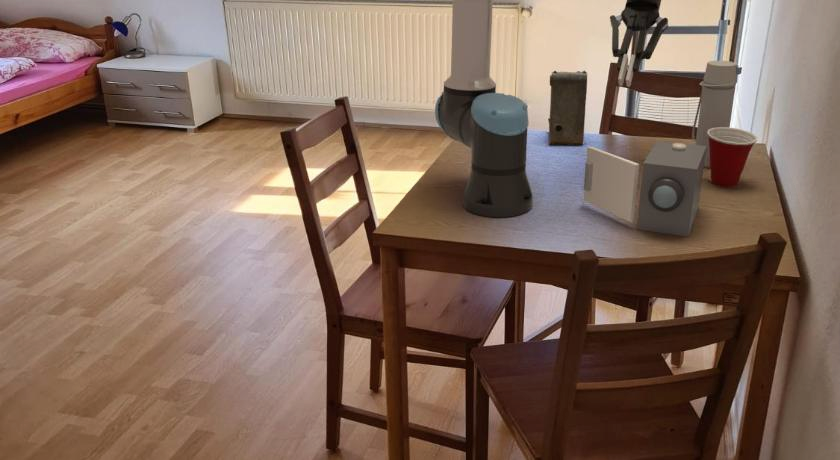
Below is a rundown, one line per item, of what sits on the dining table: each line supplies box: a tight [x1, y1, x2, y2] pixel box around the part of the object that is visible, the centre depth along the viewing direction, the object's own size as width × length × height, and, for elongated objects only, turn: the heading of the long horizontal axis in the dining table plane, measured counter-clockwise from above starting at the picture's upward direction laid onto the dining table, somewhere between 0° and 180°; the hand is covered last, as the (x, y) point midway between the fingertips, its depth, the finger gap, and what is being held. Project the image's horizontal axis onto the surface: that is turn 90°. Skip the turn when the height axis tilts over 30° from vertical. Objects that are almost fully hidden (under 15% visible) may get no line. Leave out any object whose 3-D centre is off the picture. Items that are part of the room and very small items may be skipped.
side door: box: [583, 145, 640, 222], centre depth 160 cm, size 14×2×12 cm, turn 30°
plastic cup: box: [707, 126, 758, 188], centre depth 178 cm, size 11×11×12 cm
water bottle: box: [691, 60, 738, 169], centre depth 189 cm, size 9×8×25 cm
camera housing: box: [636, 140, 707, 238], centre depth 158 cm, size 18×10×15 cm, turn 155°
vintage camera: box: [547, 70, 588, 146], centre depth 212 cm, size 10×16×20 cm, turn 174°
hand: (624, 82), depth 171 cm, fingers closed
